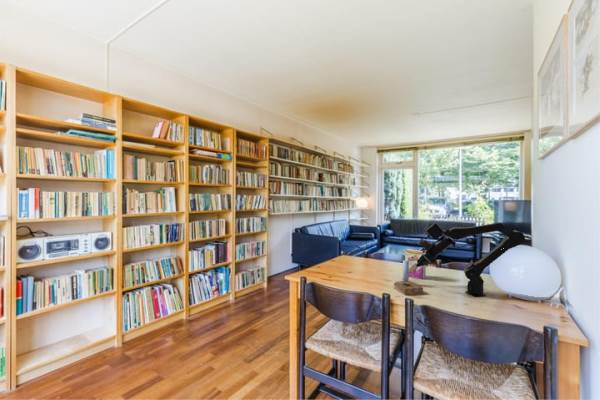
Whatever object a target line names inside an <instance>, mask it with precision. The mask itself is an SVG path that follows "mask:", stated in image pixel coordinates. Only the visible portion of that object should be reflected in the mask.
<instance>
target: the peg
mask: <svg viewBox="0 0 600 400" xmlns="http://www.w3.org/2000/svg"><path fill="white" fill-rule="evenodd" d="M409 278H410V277H409V261H407V260H405V259H404V260H402V281H403V282H409V281H410V279H409Z"/></svg>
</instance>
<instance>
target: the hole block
mask: <svg viewBox="0 0 600 400" xmlns="http://www.w3.org/2000/svg"><path fill="white" fill-rule="evenodd" d="M413 282H414V281H412V282H398V283H396V282H394V283H393V290H395V291H397V292H399V293H400V294H402V295H404V296H413V295H424V287H422V285H421V286H419V285H420V284H419V285H417V284H418V283H417V284H415V283H416V282H414V283H413Z"/></svg>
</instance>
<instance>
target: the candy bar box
mask: <svg viewBox="0 0 600 400" xmlns="http://www.w3.org/2000/svg"><path fill="white" fill-rule="evenodd" d="M422 254H423V250H417V249H412V248H411V249H410V248H407V249H405V250H404V260H407V261H409V278H413V279H418V280H425V279H426V278H427V277H426V276H427V275H426V274H427V273H426V272H427V271H426V269H427V268H426V266H427V265H423V266H419V267H417V266H416V264H417V261H418V259H419V258H420V257H421V255H422Z"/></svg>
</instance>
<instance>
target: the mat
mask: <svg viewBox="0 0 600 400" xmlns="http://www.w3.org/2000/svg"><path fill="white" fill-rule="evenodd" d="M398 282H403V280H398V281H395V283H398ZM409 282H413V283H415V284H417V285H419V286H421V287H422V285H420V284H418V283H416V282H415V281H412V280H409Z"/></svg>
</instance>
